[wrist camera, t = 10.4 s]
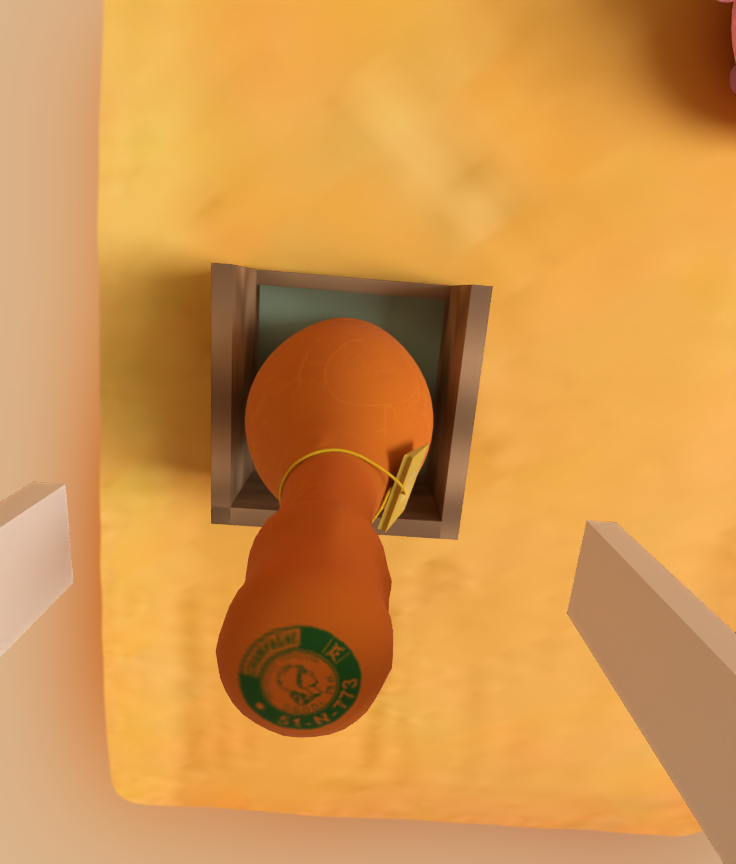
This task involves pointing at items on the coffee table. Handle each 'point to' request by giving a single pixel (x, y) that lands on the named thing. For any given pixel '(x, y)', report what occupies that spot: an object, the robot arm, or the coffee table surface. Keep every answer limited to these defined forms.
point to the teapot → (735, 73)
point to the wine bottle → (324, 526)
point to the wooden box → (365, 300)
